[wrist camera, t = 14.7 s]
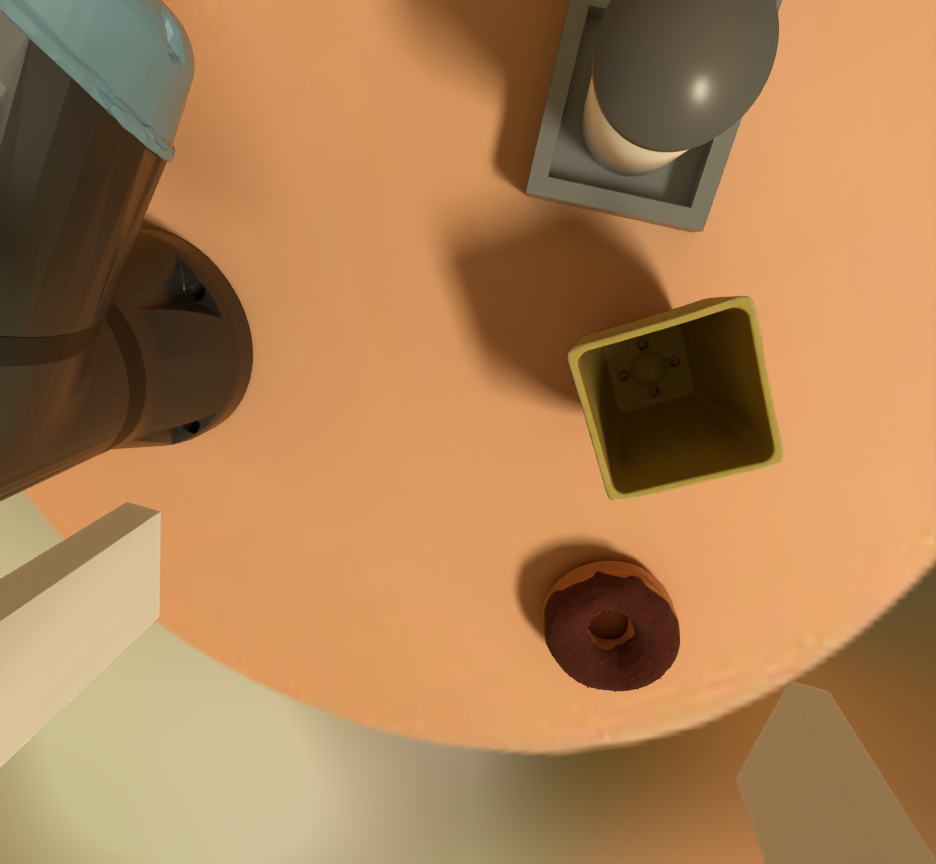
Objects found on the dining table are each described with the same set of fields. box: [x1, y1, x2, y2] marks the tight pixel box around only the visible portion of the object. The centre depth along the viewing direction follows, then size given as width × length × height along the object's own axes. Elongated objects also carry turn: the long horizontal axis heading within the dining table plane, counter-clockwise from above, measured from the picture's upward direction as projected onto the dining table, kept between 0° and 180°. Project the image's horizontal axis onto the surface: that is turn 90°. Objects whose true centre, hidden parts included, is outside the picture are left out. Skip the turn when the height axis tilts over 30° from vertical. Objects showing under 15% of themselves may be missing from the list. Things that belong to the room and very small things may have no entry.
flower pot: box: [567, 296, 783, 501], centre depth 31 cm, size 9×9×9 cm
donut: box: [542, 561, 680, 692], centre depth 40 cm, size 10×10×4 cm
